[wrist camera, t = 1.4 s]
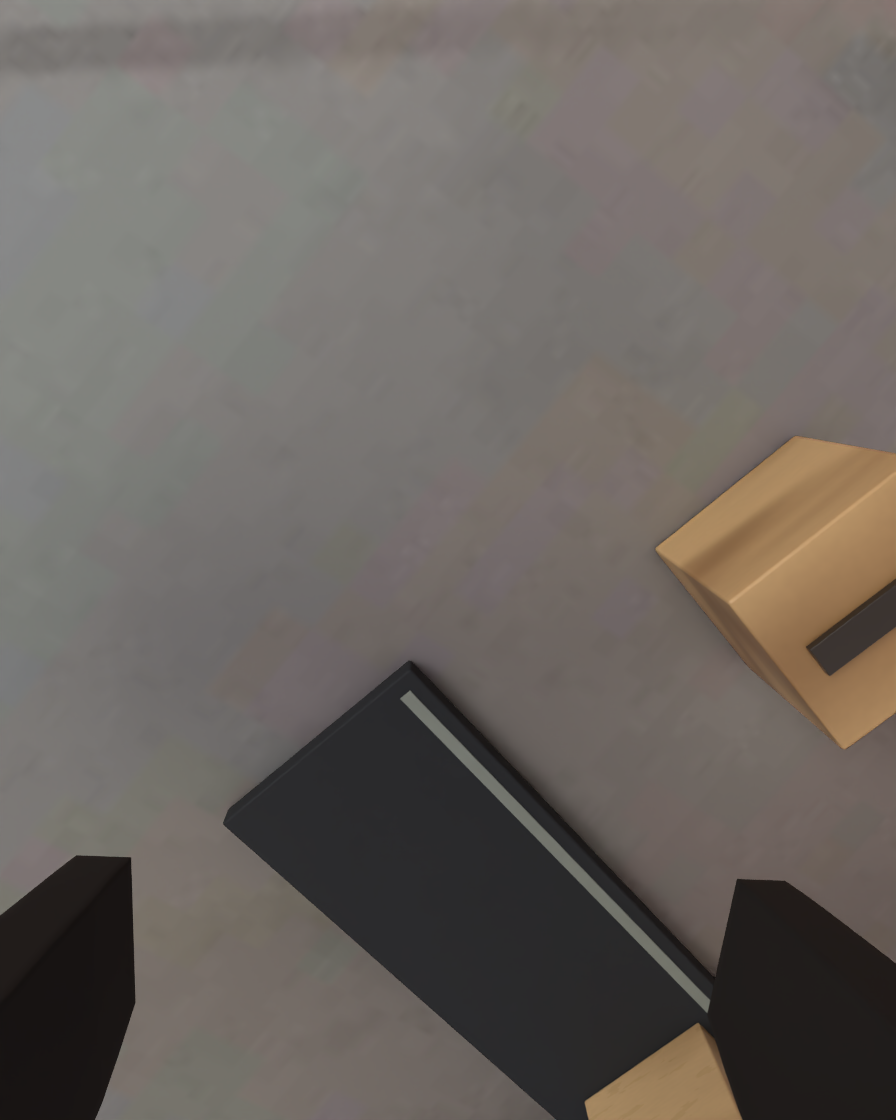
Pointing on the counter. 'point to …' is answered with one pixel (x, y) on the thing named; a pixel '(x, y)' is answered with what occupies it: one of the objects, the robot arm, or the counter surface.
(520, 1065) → the black tile rack
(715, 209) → the counter surface
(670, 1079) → the tile
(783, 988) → the robot arm
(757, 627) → the tile
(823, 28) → the counter surface
